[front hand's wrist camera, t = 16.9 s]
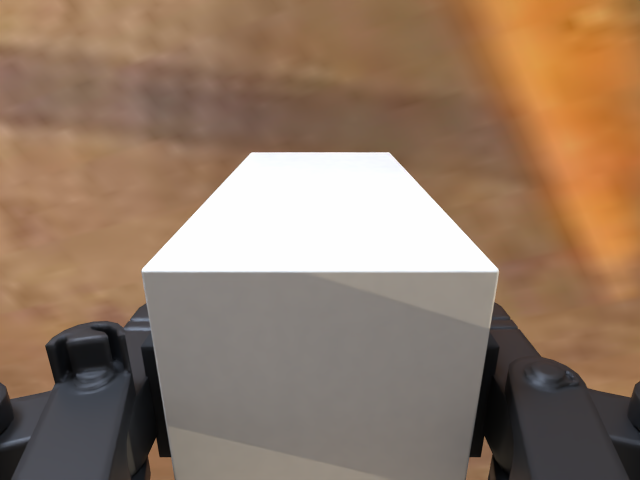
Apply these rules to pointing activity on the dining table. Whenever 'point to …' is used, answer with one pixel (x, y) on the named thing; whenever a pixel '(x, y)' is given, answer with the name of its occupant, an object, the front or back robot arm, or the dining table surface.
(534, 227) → the dining table surface
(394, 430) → the brick
